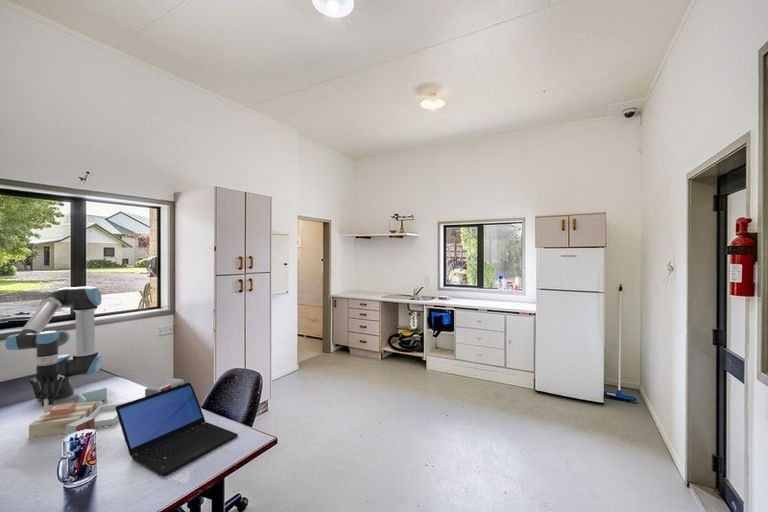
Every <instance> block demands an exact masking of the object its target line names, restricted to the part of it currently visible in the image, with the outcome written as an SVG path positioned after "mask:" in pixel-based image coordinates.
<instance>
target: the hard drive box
mask: <svg viewBox="0 0 768 512" xmlns="http://www.w3.org/2000/svg"><path fill="white" fill-rule="evenodd" d="M182 384H185V383H184V379H182V378H174V377H173V378H169V379H167V380H165V381H162V382H160V383H157V384H155V385H152V386H150V387H147V388H145V389H144V391H145V392H144V397H146V396H149V395H152V394H155V393H158V392H161V391H164V390H167V389H170V388H173V387H176V386H179V385H182Z"/></svg>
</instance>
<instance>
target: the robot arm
mask: <svg viewBox="0 0 768 512" xmlns="http://www.w3.org/2000/svg"><path fill="white" fill-rule="evenodd" d="M101 304H102V294H101V291H100V289H99V288H98V287H95V286H77V287H75V286H74V287H72V286H71V287H61V288H58V289H55V290H54V291H52V292H50V293H48V294H47V295H45V296H44V297H43V298H42V299H41V300H40V302H39V307H38V308H37V309H36V310H35V312H34V313H33V314H32V316H31V317H30V318H29V319H28V320H27V322H26V324H25V325H24V326H23V327H22V329H21V330H20V331H19V332H18V333H17V334H12V335H8V336H7V337H6V339H5V342H4V346H5V349H6V350H7V351H24V350H32V349H35V350H36V375H35V377H34V378H31V379H30V380H28V382H29V384H30V385H31V387H32V389H33V393H34V396H35V399H36V400H38V401H41V406H42V407H43V414H45V413H48V412H49V411H50V410H51V409H52V405H53V404H54V400H59V399H63V398H66V397H69V396H70V395H73V394H74V392H75V391H74V386H73V385H72V382H71V377H79V376H88V375H93V374H94V375H95V374H97V373H98V372H99V370H100V368H101V367H102V364H103V363H102V362H103V354H101V353H99V350H98V349H96V348H95V347H96V341H95V339H96V336H95V335H96V334H95V328H96V327H95V311H96V310H97V309H98V306H100V305H101ZM66 307H67V308H71V310H72V312H74V313H75V350H76V351H75V352H74V353H73V354H72V356H71V355H70V354H66V353H65V354H60V355H59V347H61V346H64V345H65V344H66V343H67V342H68V341H70V338H71V335H70V333H69V332H68V331H66V330H64V329H62V330H61V329H60V330H47V331H46V330H45V328H46V327H47V325H48V324H49V322H50V321H51V319H52V318H53V316H54V315H55V314H56V312H58V311H60V310H62V308H66ZM43 330H45V331H43ZM39 382H40V384H39Z"/></svg>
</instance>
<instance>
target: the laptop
mask: <svg viewBox="0 0 768 512" xmlns="http://www.w3.org/2000/svg"><path fill="white" fill-rule="evenodd" d="M127 402H128V403H125V402H124V403H125V404H122V405H119V406H116V407H115V408H116V412H117V415H118V418H119V421H118V422H119V424H120V427H121V431H122V435H123V437H124V442H125V444H126V447H127V450H128V454H129V457H131V460H134V462H137V463H139V464H140V465H142V466H145V467H146V468H147V469H149V470H151V471H153V472H155V473H157V474H159V475H161V476H164V477H165V476H167V475H169V474H171V473H173V472H174V471H176V470H178V469H180V468H182V467H183V466H184V465H187V464H188V463H190V462H193V461H194V460H196V459H198V458H200V457H202V456H203V455H205V454H207V453H209V452H211V451H212V450H214V449H216V448H218V447H220V446H222V445H224V444H225V443H227V442H230V441H231V440H233V439H235V438H237V437H238V435H239V434H238V433H236V432H233V431H231V430H228V429H225V428H223V427H221V426H218V425H214V424H212V423H209V421H208V422H206V419H205V415H204V413H203V411H202V408H201V405H200V403H199V400H198V398H197V395H196V393H195V390H194V388H193V385H192V383H190V382H187V383H186V382H185V383H184V384H182V385H179V386H176V387H173V388H170V389H167V390H164V391H161V392H158V393H155V394H152V395H149V396H146V397H145V396H143V397H140V398H137V399H134V400H131V401H127Z"/></svg>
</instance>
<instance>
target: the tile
mask: <svg viewBox="0 0 768 512" xmlns="http://www.w3.org/2000/svg"><path fill="white" fill-rule="evenodd" d="M76 404H77V402H71V403H63V404H57V405H56V407H55V406H54V407H55V408H53V407H52V408H53V409H52V408H51V409H52V410H50V417H54V416H62V415H69V414H70V413H71V412H72V411H73V410H75V409H76Z"/></svg>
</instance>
